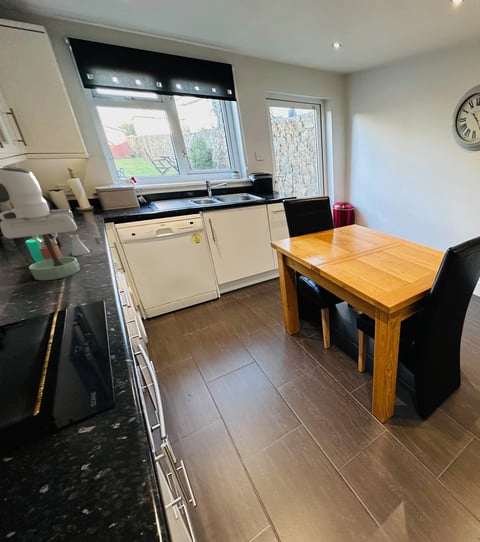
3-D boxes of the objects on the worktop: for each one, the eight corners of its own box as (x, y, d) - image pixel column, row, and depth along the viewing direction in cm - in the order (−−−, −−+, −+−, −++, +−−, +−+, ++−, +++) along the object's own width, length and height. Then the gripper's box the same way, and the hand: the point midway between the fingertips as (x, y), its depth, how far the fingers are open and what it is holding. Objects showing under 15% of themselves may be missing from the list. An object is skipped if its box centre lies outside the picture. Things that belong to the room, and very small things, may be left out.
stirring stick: (56, 271, 119) (39, 235, 113) (56, 270, 120) (40, 234, 114) (64, 270, 120) (48, 234, 114) (65, 268, 122) (49, 233, 115)
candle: (38, 259, 136) (27, 235, 131) (55, 257, 139) (45, 234, 134) (32, 263, 131) (20, 239, 127) (50, 261, 134) (39, 237, 129)
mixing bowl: (31, 284, 113) (25, 272, 110) (37, 273, 123) (32, 261, 120) (79, 275, 121) (74, 263, 119) (81, 265, 131) (77, 254, 129)
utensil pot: (46, 268, 127) (38, 249, 124) (48, 264, 131) (40, 246, 128) (64, 265, 131) (56, 247, 127) (65, 261, 135) (58, 243, 131)
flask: (93, 253, 145) (86, 234, 141) (74, 257, 140) (66, 238, 136) (87, 250, 149) (80, 232, 145) (69, 254, 143) (61, 235, 139)
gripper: (70, 207, 118) (83, 238, 124) (-4, 213, 106) (14, 247, 112) (69, 209, 114) (82, 242, 120) (-9, 216, 102) (10, 251, 108)
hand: (48, 244), depth 116 cm, fingers closed on stirring stick, 2 cm apart
